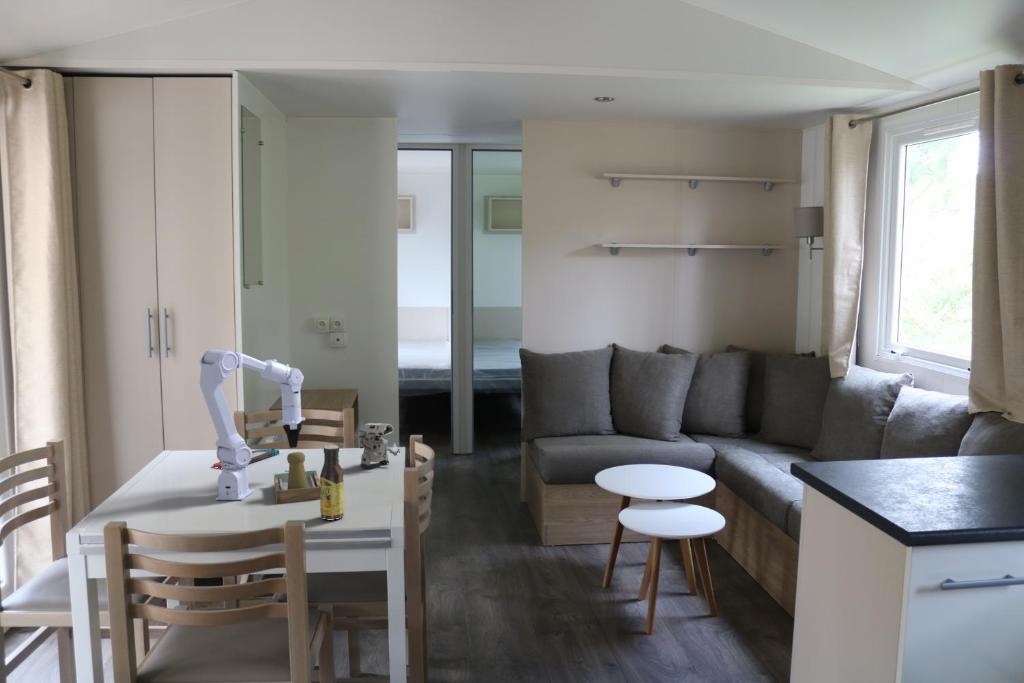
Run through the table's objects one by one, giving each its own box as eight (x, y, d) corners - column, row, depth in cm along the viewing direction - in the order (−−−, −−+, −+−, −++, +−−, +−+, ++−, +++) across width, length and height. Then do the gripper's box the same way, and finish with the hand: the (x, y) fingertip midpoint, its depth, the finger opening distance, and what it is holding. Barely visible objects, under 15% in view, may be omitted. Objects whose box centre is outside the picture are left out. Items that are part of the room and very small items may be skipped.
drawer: (321, 494, 233) (320, 483, 232) (276, 498, 228) (276, 487, 228) (315, 477, 250) (315, 467, 250) (274, 481, 246) (273, 471, 246)
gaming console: (259, 447, 289) (281, 447, 285) (260, 454, 289) (282, 454, 285) (210, 463, 267) (232, 464, 263) (211, 470, 268) (233, 471, 263)
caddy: (322, 498, 231) (321, 487, 231) (276, 503, 227) (276, 491, 227) (317, 483, 247) (316, 472, 246) (274, 487, 243) (274, 476, 242)
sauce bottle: (316, 517, 214) (313, 446, 212) (337, 512, 218) (335, 442, 216) (327, 523, 209) (325, 450, 207) (348, 518, 213) (346, 446, 211)
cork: (298, 490, 229) (296, 452, 230) (282, 491, 232) (280, 453, 233) (312, 488, 234) (310, 450, 235) (297, 488, 237) (295, 452, 238)
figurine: (379, 472, 258) (378, 427, 257) (357, 467, 266) (356, 423, 264) (400, 467, 265) (399, 423, 264) (378, 461, 273) (377, 418, 271)
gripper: (306, 408, 244) (307, 451, 245) (302, 400, 258) (304, 441, 259) (282, 409, 242) (284, 453, 243) (280, 401, 255) (282, 442, 257)
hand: (293, 447), depth 251 cm, fingers closed
